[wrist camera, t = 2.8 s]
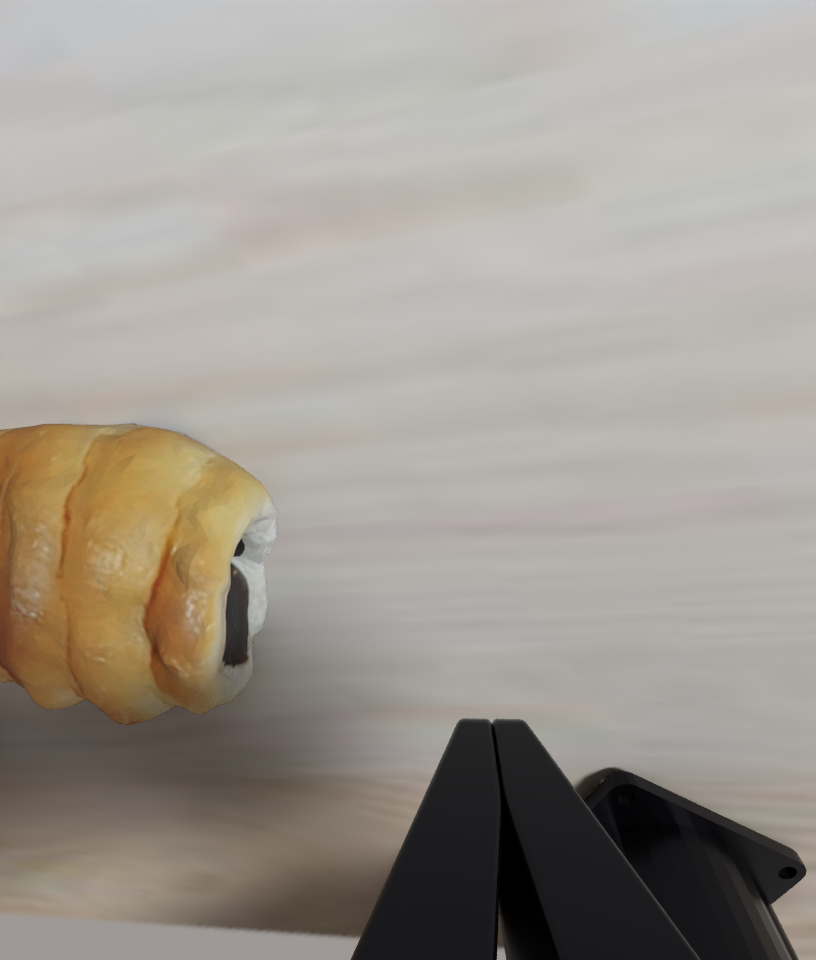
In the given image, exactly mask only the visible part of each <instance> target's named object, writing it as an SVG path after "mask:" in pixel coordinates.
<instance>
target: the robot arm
mask: <svg viewBox="0 0 816 960" xmlns="http://www.w3.org/2000/svg"><path fill="white" fill-rule="evenodd" d="M622 791H624V792H622ZM805 874H806V868H805V866H804V864H803V862H802V861H801V859H800V857H799V856H798V854H797V852H795V851H794V850H793V849H791V848H789V847H787V846H785V845H783V844H781V843H778V842H776V841H774V840H772V839H770V838H768V837H766V836H764V835H761V834H759V833H757V832H755V831H753V830H751V829H749V828H747V827H745V826H742V825H740V824H738V823H736V822H734V821H732V820H730V819H728V818H726V817H723V816H721V815H719V814H717V813H715V812H713V811H711V810H709V809H706V808H704V807H702V806H700V805H698V804H696V803H694V802H692V801H690V800H687V799H685V798H683V797H681V796H679V795H677V794H675V793H673V792H671V791H668V790H666V789H664V788H662V787H660V786H658V785H656V784H654V783H652V782H649V781H647V780H645V779H643V778H641V777H639V776H637V775H635V774H632V773H629V772H616V773H613V774H611V775H610V776H608V777H607V778H606V779H605V780H604V781H603V782H602V783H601V784H600V785H599V786H598V787H597V788H596V790H595V791H594V792H593V793H592V794H591V795H590V796H589V797H588V798H587V799H586V800H585V801H583V799H582V798H581V796H580V795H579V794H578V792H577V791H576V790H575V788H574V787H573V786H572V784H571V783H570V782H569V780H568V779H567V777H566V776H565V775H564V773H563V772H562V771H561V769H560V768H559V767H558V765H557V764H556V762H555V761H554V760H553V758H552V757H551V756H550V754H549V753H548V752H547V750H546V749H545V747H544V746H543V745H542V743H541V742H540V741H539V739H538V738H537V737H536V735H535V734H534V733H533V731H532V730H531V728H530V727H529V726H528V724H527V723H526V722H525V721H523V720H520V719H496V720H494V721H493V723H492V724H491V722H490V721H489V720H488V719H461V720H459V722H458V723H457V725H456V727H455V729H454V731H453V734H452V736H451V738H450V740H449V743H448V745H447V747H446V749H445V751H444V754H443V756H442V758H441V760H440V763H439V765H438V767H437V769H436V771H435V774H434V776H433V778H432V780H431V783H430V785H429V787H428V789H427V791H426V794H425V796H424V798H423V800H422V803H421V805H420V807H419V809H418V811H417V814H416V816H415V818H414V820H413V823H412V825H411V827H410V829H409V831H408V834H407V836H406V838H405V840H404V843H403V845H402V847H401V849H400V851H399V854H398V856H397V858H396V860H395V862H394V865H393V867H392V869H391V871H390V874H389V876H388V878H387V880H386V882H385V885H384V887H383V889H382V891H381V894H380V896H379V898H378V900H377V902H376V905H375V907H374V909H373V911H372V914H371V916H370V918H369V920H368V922H367V925H366V927H365V929H364V931H363V934H362V936H361V938H360V940H359V942H358V945H357V947H356V949H355V951H354V954H353V956H352V958H351V960H497V939H498V915H499V914H500V922H501V929H502V935H503V942H504V948H505V954H506V959H507V960H799V959H798V957H797V955H796V953H795V951H794V949H793V948H792V946H791V944H790V942H789V940H788V938H787V936H786V934H785V932H784V930H783V928H782V926H781V924H780V922H779V920H778V918H777V916H776V914H775V912H774V910H773V908H772V906H771V904H772V903H773V902H775V901H776V900H777V899H778V898H780V897H781V896H782V895H783V894H784V893H786V892H787V891H788V890H789V889H791V888H792V887H793V886H794V885H796V884H797V883H798V882H799V881H800V880H802V878H803V877H804V876H805Z"/></svg>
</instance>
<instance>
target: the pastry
mask: <svg viewBox="0 0 816 960" xmlns="http://www.w3.org/2000/svg"><path fill="white" fill-rule="evenodd" d="M276 517H277V509H276V507H275V505H274V503H273V501H272V499H271V497H270V495H269V493H268V491H267V489H266V487H265V486H264V485H263V484H262V483H261V482H260V481H259V480H257V479H256V478H255V477H254V476H253V475H251V474H250V473H249V472H247V471H246V470H245V469H243V468H242V467H240V466H239V465H238V464H236V463H235V462H233V461H231V460H229V459H227V458H226V457H224V456H222V455H220V454H218V453H217V452H215V451H213V450H211V449H210V448H208V447H207V446H205V445H204V444H202V443H200V442H198V441H196V440H194V439H192V438H190V437H188V436H187V435H184V434H181V433H179V432H174V431H170V430H166V429H161V428H154V427H148V426H142V425H136V424H120V425H72V424H42V425H37V426H31V427H22V428H14V429H5V430H0V682H16V683H18V684H19V685H20V686H22V687H23V688H25V689H26V691H27V693H28V695H29V696H30V698H31V699H32V700H33V701H34V702H35V703H36V704H38V705H39V706H41V707H43V708H45V709H47V710H48V709H59V708H66V707H69V706H72V705H75V704H77V703H79V702H81V701H83V700H88V701H90V702H91V703H93V704H94V705H96V706H97V707H98V708H99V709H100V710H102V711H103V712H104V713H105V714H106V715H107V716H109V717H110V718H111V719H112V720H113V721H114V722H116V723H120V724H126V725H129V724H135V723H140V722H144V721H148V720H150V719H152V718H154V717H156V716H158V715H160V714H162V713H165V712H166V711H167V710H168V709H170V708H171V707H173V706H181V707H185V708H186V709H188V710H189V711H190V712H192V713H195V714H203V713H206V712H207V711H209V710H210V709H211V708H212V707H215V706H219V705H222V704H225V703H227V702H229V701H231V700H233V698H234V697H235V696H237V695H239V694H240V693H241V692H242V690H243V689H244V688H245V686H246V684H247V682H248V681H249V680H250V678H251V677H252V674H253V659H252V646H253V643H254V641H253V636H254V635H255V634H257V633H258V632H260V631H261V630H262V628H263V625H264V622H265V618H266V610H267V604H268V599H267V596H266V575H265V570H264V566H263V561H264V559H265V557H266V556H267V555H268V554H269V552H270V551H271V549H272V547H273V545H274V542H275V538H276Z"/></svg>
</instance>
